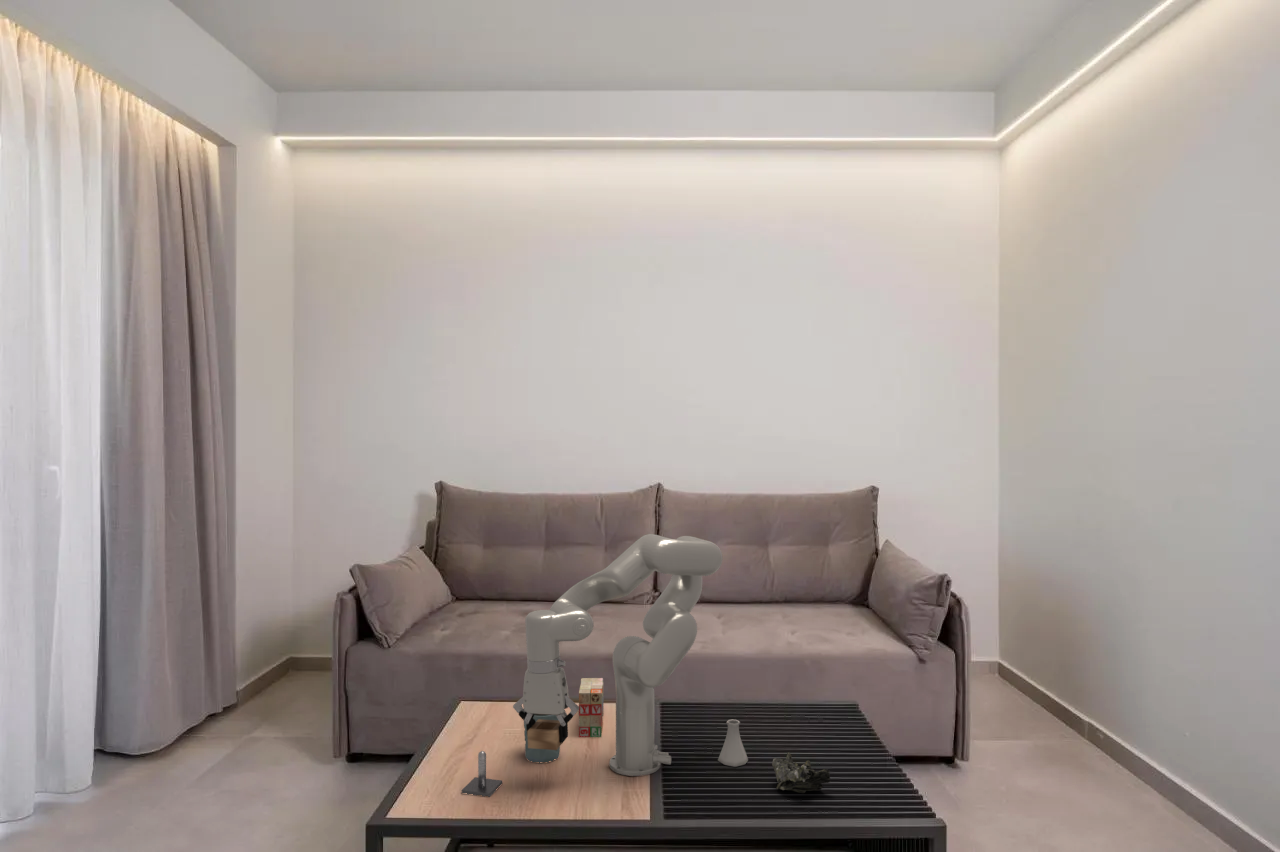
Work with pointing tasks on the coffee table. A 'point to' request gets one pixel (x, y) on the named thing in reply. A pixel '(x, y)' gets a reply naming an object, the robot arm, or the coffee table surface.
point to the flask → (733, 746)
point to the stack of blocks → (591, 707)
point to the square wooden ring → (544, 735)
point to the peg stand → (482, 780)
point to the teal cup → (540, 754)
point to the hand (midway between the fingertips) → (547, 739)
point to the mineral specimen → (798, 775)
